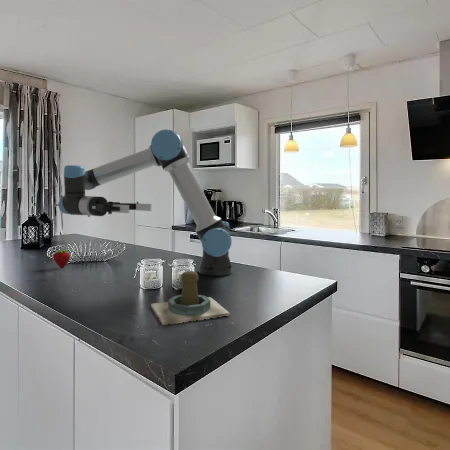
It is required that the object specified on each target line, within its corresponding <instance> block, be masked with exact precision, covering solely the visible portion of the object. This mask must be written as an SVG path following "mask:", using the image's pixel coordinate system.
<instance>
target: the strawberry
mask: <svg viewBox="0 0 450 450" xmlns="http://www.w3.org/2000/svg"><path fill="white" fill-rule="evenodd" d="M61 249H62V250H57V251H56V252H55V253H54V254H53V260H54V262H55V264H56V265H57V266H58V267H59V268H60V269H64V268H65V267H66V266H67V264H68V263H69V261H70V260H71V255H70V253H69V251H68V250H67V249H64V248H61Z"/></svg>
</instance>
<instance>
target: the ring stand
mask: <svg viewBox="0 0 450 450" xmlns="http://www.w3.org/2000/svg"><path fill="white" fill-rule="evenodd" d="M181 295H182V294H177V295H174V296H173V297H171V298H169V299H168V300H167V301H165V302H163V301H162V302H156V303H154V302H153V303H151V304H150V306H151V307H150V308H151V309H152V310H153V312H154V314H155V315H156V317H157V318H159V319H158V320H159V323H161V325H162V326H167V325H168V324H170V325H175V324H176V325H177V324H183V322H184V323H190V322H189V321H191V322H197V321H196V320H198V321H203V320H204V319H206V320H211V319H210V318H213V319H218V318H217V317H220V318H223V317H222V316H227V317H229V316H228V315H230V312H229V311H228V310H227V309H226V308H224V307H223V306H222V305H221V304H220V303H218V302H217V301H216V300H215V299H213V298H212V297H211V296H205V295H204V294H203V295H202V294H198V299H199V304H198V305H190V306H186V305H180V302H181ZM230 316H231V315H230ZM204 321H205V320H204Z"/></svg>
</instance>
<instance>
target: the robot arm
mask: <svg viewBox="0 0 450 450" xmlns="http://www.w3.org/2000/svg"><path fill="white" fill-rule="evenodd" d="M189 162H190V154H189V152H188V151H187V149H186V146H185V145H184V142H183V140H182V139H181V136H180V135H179V134H178V133H177V132H176V131H174V130H171V129H161V130H159V131H156V133H155V134H154V135H153V137H152V138H151V141H150V145H149V147H148V148H147V149H143V150H141V151H138V152H134V153H133V154H130V155H127V156H124V157H121V158H119V159H117V160H113V161H110V162H107V163H105V164H103V165H99V166H97V167H94V168H92V169H89V170H85V167H84V166H83V165H72V164H70V165H69V164H68V165H65V166H64V167H63V178H64V179H63V181H64V182H63V183H64V185H63V186H64V195H63V196H61V197H60V198H59V201H58V208H59V210H60V212H61V213H63V214H65V215H71V216H87V218H90V217H92V216H94V217H104V216H106V214H108V215H112V214H113V213H118V214H123V213H124V214H129V213H130V211H135V210H136V211H139V212H141V211H142V212H145V211H146V212H152V203H139V201H136V202H134V203H131V202H129V203H128V202H119V201H108V200H107V199H106V198H105V196H92V195H91V196H89V195H86V191H90V190H94V189H96V188H97V187H99V186H102V185H103V184H107V183H110V182H112V181H116V180H118V179H121V178H124V177H126V176H130V175H133V174H134V173H137V172H139V171H140V172H141V171H143V170H146V169H149V168H151V167H154V166H156V167H158V168H159V167H161V168H162V169H163V171H165V172H167V173H169V175H170V177H171V179H172V181H173V183H174V184H175V187H176V188H177V190H178V192H179V194H180V196H181V198H182V200H183V203H184V204H185V206H186V208H187V210H188V212H189V213H190V215H191V217H192V219H193V221H194V223H195V225H196V227H195V233H196V235H197V237H198V239H199V241H200V243H201V247H202V257H201V260H200V263H199V266H198V273H199V274H201V275H204V276H208V277H209V276H210V277H211V276H212V277H221V276H228V275H231V274H233V265H232V262H231V258H230V256H229V255H230V254H229V253H230V252H229V250H230V249H231V246H232V237H231V234H230V223H229V222H227V221H223V219H222V217H220V216H217V215H216V214H215V212H214V210H213V208H212V206H211V204H210V203H209V200H208V199H207V196H206V194H205V193H204V190H203V188H202V186H201V184H200V183H199V180H198V178H197V177H196V175H195V173H194V171H193V169H192V167H191V165H190V163H189Z"/></svg>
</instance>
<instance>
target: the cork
mask: <svg viewBox="0 0 450 450" xmlns="http://www.w3.org/2000/svg"><path fill="white" fill-rule="evenodd" d="M181 281H182V290H181V294H180V295H181V302H180V305H186V306H190V305H198V304H199V299H198V295H199V294H198V284H197V282H198V281H199V274H198V273H197V272H196V271H194V270H193V271H192V270H188V271H184V272H182V274H181Z"/></svg>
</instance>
